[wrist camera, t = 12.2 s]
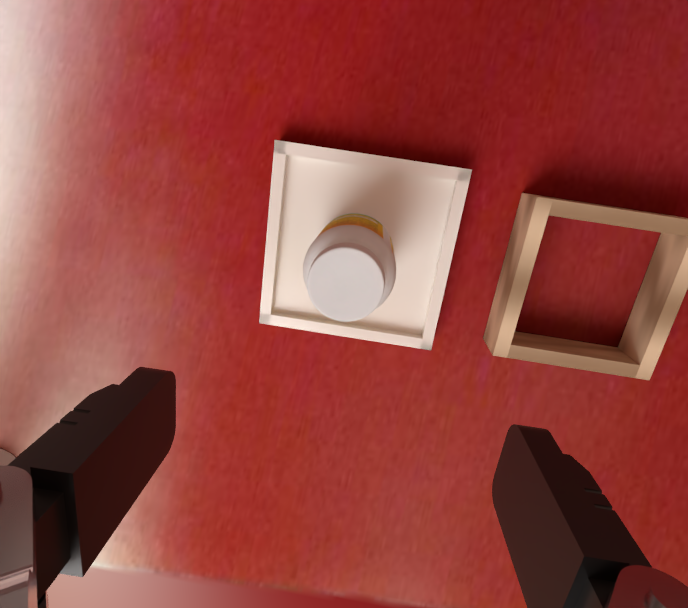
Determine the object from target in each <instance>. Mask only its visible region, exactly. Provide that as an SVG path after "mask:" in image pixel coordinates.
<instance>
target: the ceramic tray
mask: <svg viewBox="0 0 688 608" xmlns="http://www.w3.org/2000/svg"><path fill="white" fill-rule="evenodd" d="M471 173H472V170H471V169H464V168H458V167H451V166H445V165H438V164H431V163H425V162H418V161H412V160H405V159H398V158H392V157H385V156H378V155H372V154H365V153H359V152H352V151H345V150H339V149H332V148H326V147H319V146H312V145H306V144H299V143H292V142H286V141H279V140H275V144H274V155H273V167H272V178H271V190H270V202H269V213H268V225H267V237H266V248H265V260H264V271H263V283H262V295H261V306H260V318H259V323H262V324H269V325H275V326H281V327H288V328H294V329H300V330H306V331H313V332H319V333H325V334H332V335H338V336H344V337H350V338H357V339H363V340H369V341H376V342H382V343H388V344H394V345H401V346H407V347H413V348H420V349H426V350H431V348H432V344H433V339H434V335H435V331H436V326H437V322H438V317H439V313H440V309H441V304H442V300H443V296H444V291H445V287H446V282H447V278H448V274H449V269H450V265H451V260H452V256H453V252H454V247H455V243H456V238H457V234H458V230H459V225H460V221H461V216H462V212H463V208H464V203H465V199H466V195H467V190H468V186H469V181H470V177H471ZM349 213H359V214H364V215H368V216H370V217H373V218H375V219H376V220H378V221H379V222H380V223H381V224H382V225H383V226H384V227H385V228H386V229H387V231H388V233H389V235H390V237H391V240H392V243H393V249H394V256H395V262H396V279H395V283H394V287H393V289H392V291H391V293H390V295H389V296H388V298H387V299H386V300H385V302H384V303H383V304H382V305H380V306H379V307H378V308H377V309H375V310H374V311H373V312H372V313H370V314H369V315H368V316H366V317H364V318H362V319H359V320H356V321H350V322H342V321H337V320H333V319H331V318H328V317H327V316H325V315H323V314H322V313H321V312H320V311H319V310H318V309H317V308H316V307H315V306H314V305H313V303H312V301H311V299H310V297H309V294H308V290H307V288H306V285H305V282H304V277H303V263H304V259H305V256H306V253H307V251H308V249H309V247H310V245H311V244H312V243H313V241H314V240H315V239H316V238H317V236H318V235H319V234H320V233H321V231H322V230H323V229H324V228H325V226H326V225H327V224H328V223H329V222H331V221H332V220H333V219H335V218H337V217H339V216H341V215H344V214H349Z"/></svg>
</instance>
